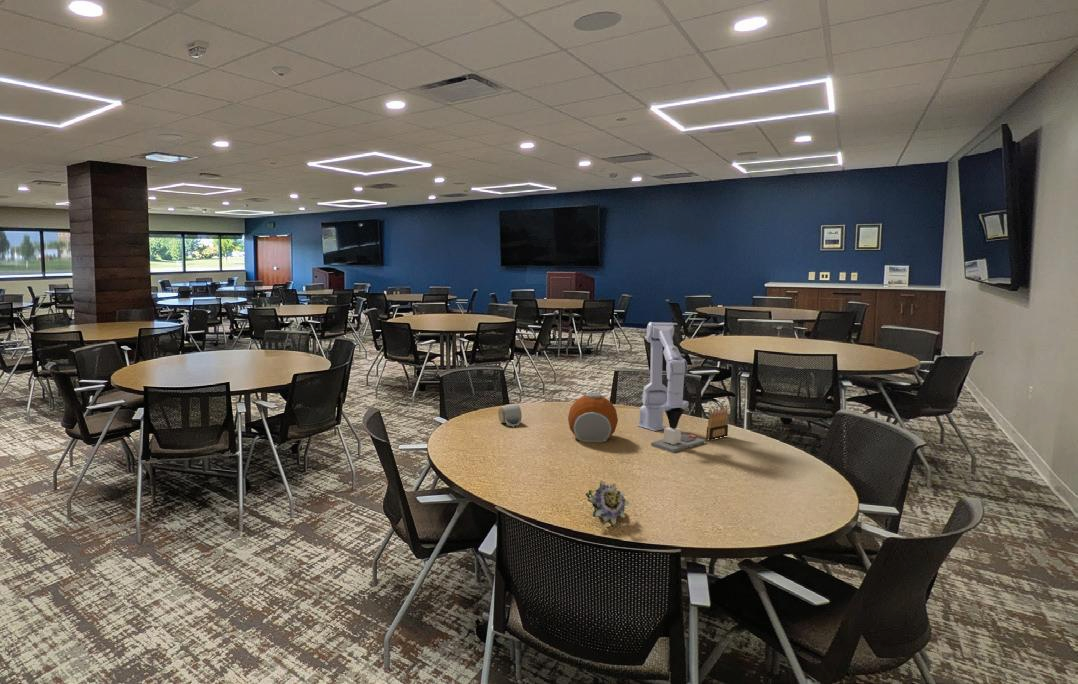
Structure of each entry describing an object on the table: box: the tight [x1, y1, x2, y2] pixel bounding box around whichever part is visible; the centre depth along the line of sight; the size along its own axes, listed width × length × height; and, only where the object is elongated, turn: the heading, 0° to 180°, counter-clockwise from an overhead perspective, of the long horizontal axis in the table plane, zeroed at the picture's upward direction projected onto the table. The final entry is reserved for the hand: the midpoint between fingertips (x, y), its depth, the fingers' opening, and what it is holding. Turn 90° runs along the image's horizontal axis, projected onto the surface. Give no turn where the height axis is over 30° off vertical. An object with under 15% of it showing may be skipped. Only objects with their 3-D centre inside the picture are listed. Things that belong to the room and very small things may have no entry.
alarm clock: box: [567, 392, 619, 443], centre depth 221 cm, size 19×18×17 cm
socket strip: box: [650, 433, 707, 453], centre depth 216 cm, size 10×20×2 cm, turn 130°
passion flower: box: [585, 480, 630, 526], centre depth 151 cm, size 11×11×12 cm
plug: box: [663, 426, 682, 446], centre depth 214 cm, size 4×4×7 cm
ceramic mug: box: [497, 403, 522, 427], centre depth 238 cm, size 11×8×8 cm
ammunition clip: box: [705, 406, 729, 441], centre depth 225 cm, size 11×2×12 cm, turn 124°
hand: (673, 427), depth 213 cm, fingers closed
